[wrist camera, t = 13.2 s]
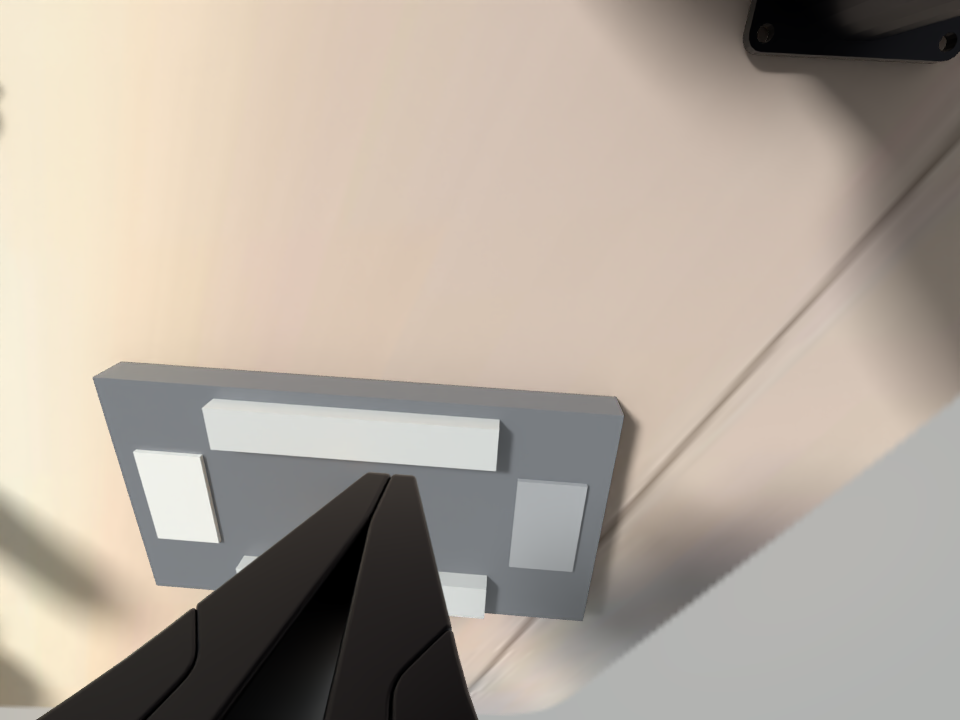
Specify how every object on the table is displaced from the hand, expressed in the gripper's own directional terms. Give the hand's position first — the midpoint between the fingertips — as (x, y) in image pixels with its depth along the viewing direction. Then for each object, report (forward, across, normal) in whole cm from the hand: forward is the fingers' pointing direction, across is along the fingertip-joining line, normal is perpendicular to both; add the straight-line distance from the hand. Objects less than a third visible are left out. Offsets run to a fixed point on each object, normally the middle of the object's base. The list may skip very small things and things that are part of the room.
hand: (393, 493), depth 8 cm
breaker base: (+12, +4, +10) cm, 16 cm away
